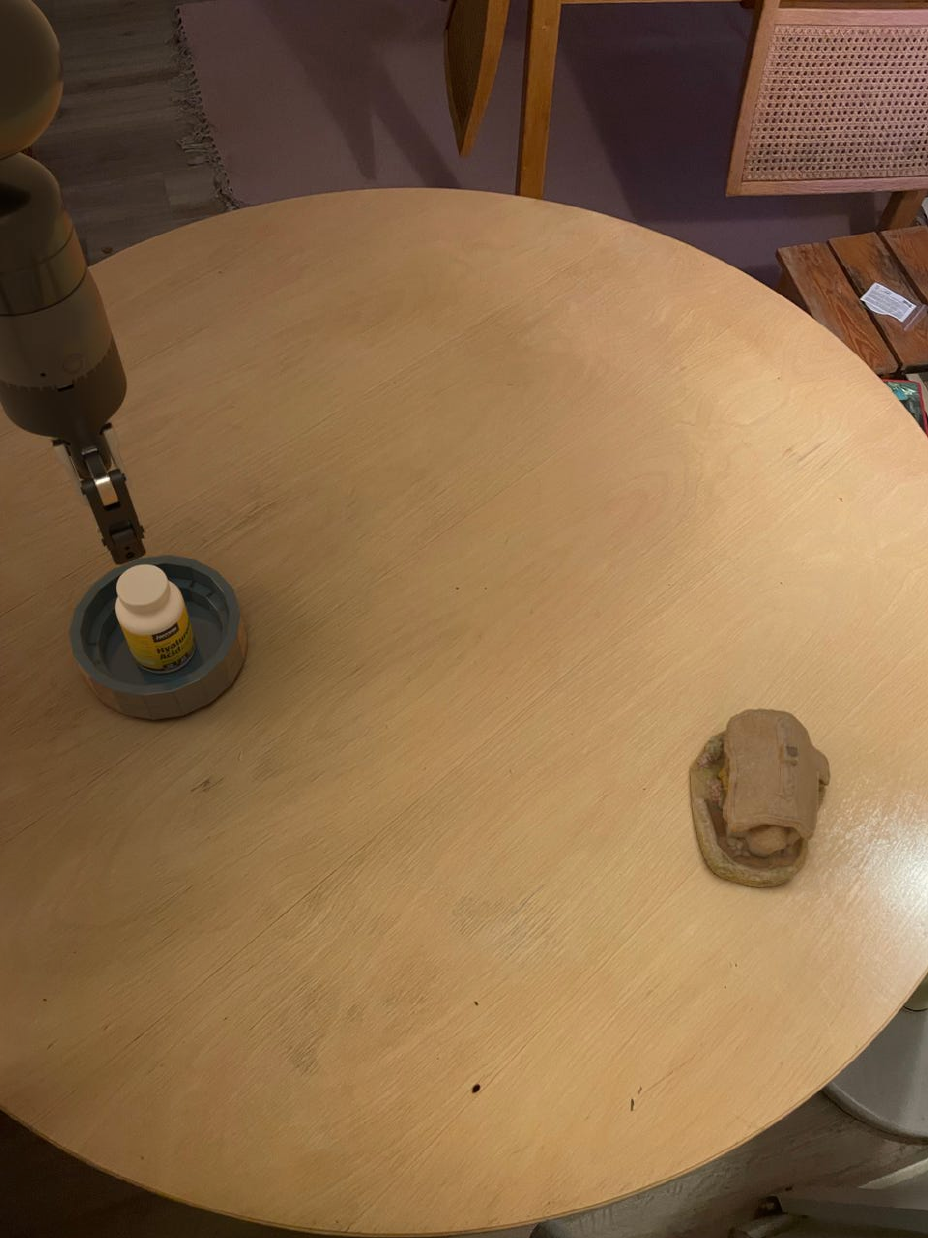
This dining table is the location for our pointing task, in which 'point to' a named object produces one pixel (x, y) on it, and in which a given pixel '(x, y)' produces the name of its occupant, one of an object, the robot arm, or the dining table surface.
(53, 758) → the dining table surface
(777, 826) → the ceramic model
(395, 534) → the dining table surface
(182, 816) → the dining table surface
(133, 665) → the bowl
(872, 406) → the dining table surface
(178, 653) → the supplement bottle
